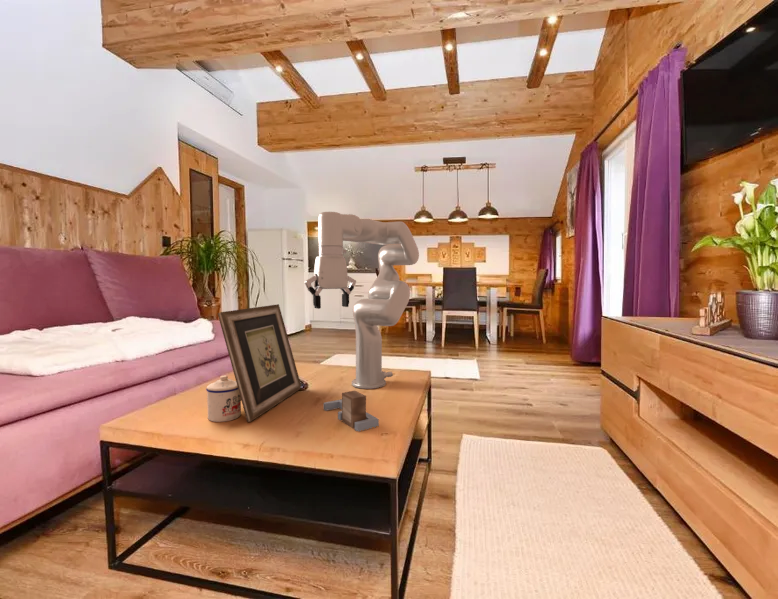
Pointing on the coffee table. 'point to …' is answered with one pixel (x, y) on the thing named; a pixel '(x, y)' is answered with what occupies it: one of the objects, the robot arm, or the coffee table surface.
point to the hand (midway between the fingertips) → (331, 307)
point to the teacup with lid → (223, 400)
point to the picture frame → (260, 357)
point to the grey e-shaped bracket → (359, 425)
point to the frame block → (353, 408)
